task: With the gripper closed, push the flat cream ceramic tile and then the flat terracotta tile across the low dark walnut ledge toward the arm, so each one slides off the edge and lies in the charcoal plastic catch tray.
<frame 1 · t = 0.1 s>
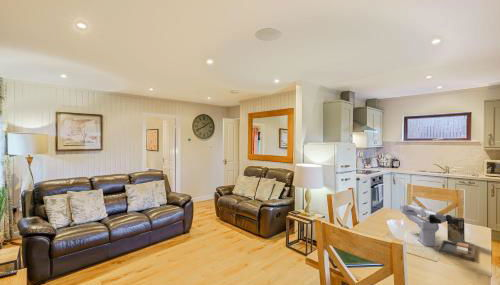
hand: (447, 222, 144), 22 cm above the table, tool horizontal, fingers open, 7 cm apart
catch tray: (448, 248, 156), on the table
terracotta tile: (463, 247, 154), point 2 cm above the table, touching walnut ledge
cream tile: (462, 251, 148), point 2 cm above the table, touching walnut ledge
coffee box: (455, 240, 169), on the table
walnut ledge: (464, 252, 150), on the table
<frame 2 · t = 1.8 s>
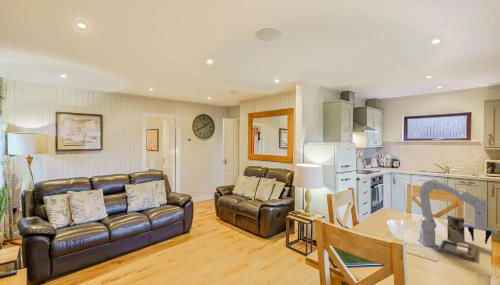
hand: (479, 241, 143), 10 cm above the table, tool pointing down, fingers open, 5 cm apart
nothing on the table moved.
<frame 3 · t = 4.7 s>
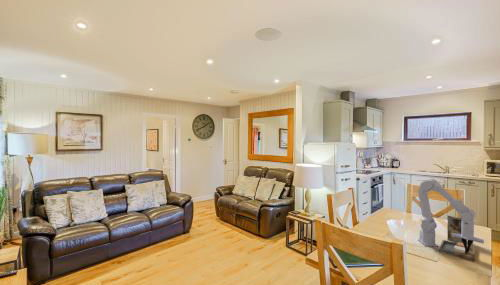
hand: (467, 251, 147), 3 cm above the table, tool pointing down, fingers closed
cream tile: (459, 250, 149), point 2 cm above the table, touching gripper
everything else where it was.
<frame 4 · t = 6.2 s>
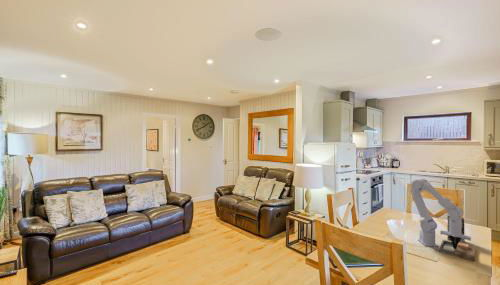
hand: (455, 248, 151), 3 cm above the table, tool pointing down, fingers closed
cream tile: (448, 250, 153), resting on catch tray
everything else where it was.
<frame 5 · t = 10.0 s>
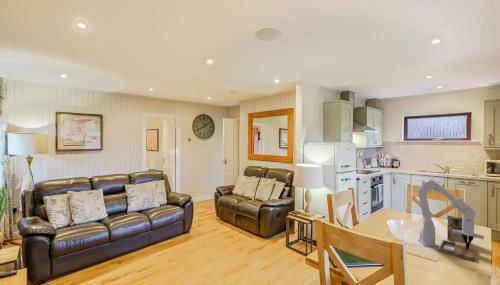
hand: (467, 247, 152), 3 cm above the table, tool pointing down, fingers closed
terracotta tile: (460, 246, 155), point 2 cm above the table, touching gripper, walnut ledge
everything else where it was.
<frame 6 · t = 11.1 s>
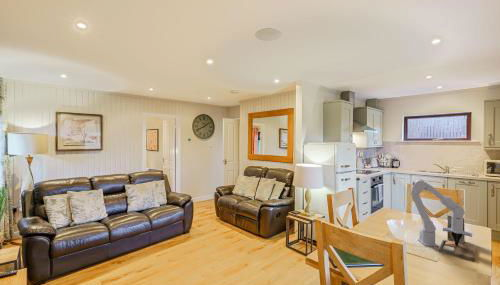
hand: (456, 244, 156), 3 cm above the table, tool pointing down, fingers closed
terracotta tile: (451, 245, 158), point 1 cm above the table, tilted 19°, touching catch tray, gripper
everything else where it was.
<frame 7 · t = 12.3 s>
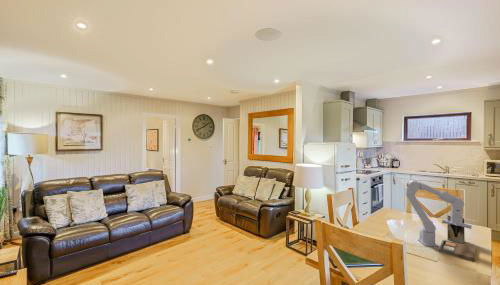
hand: (456, 236, 156), 8 cm above the table, tool pointing down, fingers closed
terracotta tile: (450, 246, 158), resting on catch tray
everything else where it was.
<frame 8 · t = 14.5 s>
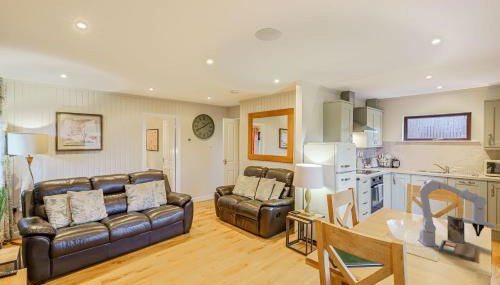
hand: (477, 235, 151), 10 cm above the table, tool pointing down, fingers closed
nothing on the table moved.
at the end: cream tile inside the target area on the catch tray (4.0 cm from its centre), point 0.4 cm above the catch tray's base; terracotta tile inside the target area on the catch tray (4.3 cm from its centre), point 0.4 cm above the catch tray's base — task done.
